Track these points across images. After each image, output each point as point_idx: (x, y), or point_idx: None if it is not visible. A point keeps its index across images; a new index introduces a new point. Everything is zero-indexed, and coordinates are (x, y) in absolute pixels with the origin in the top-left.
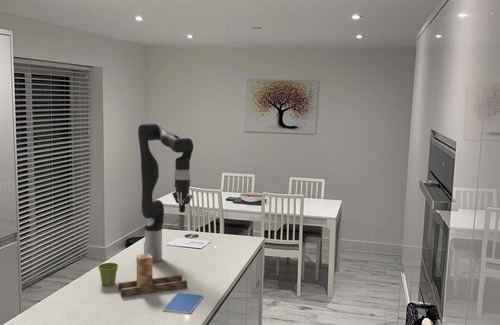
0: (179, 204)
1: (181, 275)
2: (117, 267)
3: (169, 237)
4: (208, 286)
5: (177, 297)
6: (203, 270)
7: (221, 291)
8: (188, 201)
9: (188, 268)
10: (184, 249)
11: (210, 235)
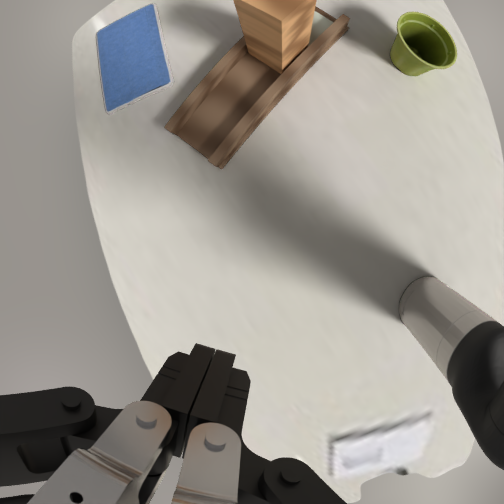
0: (213, 429)
1: (209, 158)
2: (404, 45)
3: (438, 447)
4: (128, 180)
5: (155, 60)
6: (216, 295)
7: (87, 171)
8: (35, 447)
9: (273, 289)
10: (373, 416)
11: (350, 495)
